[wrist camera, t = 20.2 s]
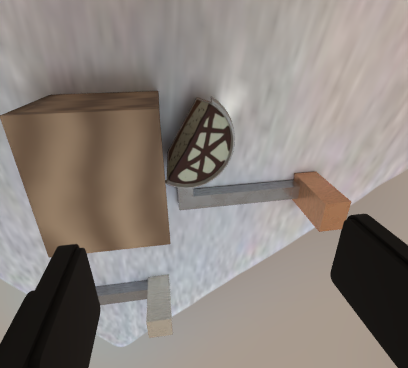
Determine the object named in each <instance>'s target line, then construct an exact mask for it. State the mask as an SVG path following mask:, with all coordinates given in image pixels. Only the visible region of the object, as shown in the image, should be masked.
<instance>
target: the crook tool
mask: <svg viewBox="0 0 408 368" xmlns="http://www.w3.org/2000/svg"><path fill="white" fill-rule="evenodd" d="M177 189H178V203H179V210H187V209H197V208H207V207H217V206H227V205H237V204H247V203H257V202H267V201H277V200H287V199H292V200H293V201H294V202H295V203H296V204H297V206H298V207H299V208H300V209H301V211H302V212H303V213H304V214H305V215H306V217H307V218H308V219H309V220H310V221H311V223H312V224H313V225H314V226H315V227H316V229H317V230H318V231H319V232H321V231H329V230H337V229H342V227H343V223H344V221H345V220H346V218H347V214H348V211H349V208H350V204H351V201H350V200H349V199H348V198H346V197H345V196H344V195H343V194H342V193H341V192H339V191H338V190H337V189H336V188H335V187H334V186H332V185H331V184H330V183H329V182H328V181H326V180H325V179H324V178H323V177H322V176H321V175H319V174H318V173H317V172H306V173H295V176H294V180H288V181H277V182H266V183H255V184H244V185H233V186H222V187H211V188H200V189H193V188H178V187H177Z"/></svg>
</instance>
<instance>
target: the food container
mask: <svg viewBox="0 0 408 368" xmlns="http://www.w3.org/2000/svg"><path fill="white" fill-rule="evenodd" d="M234 145H235V135H234V128H233V124H232V121H231V118H230V116H229V114H228V112H227V111H226V110H225V108H224V107H223V106H222V105H221V104H220V103H219V102H218V101H217V100H216V99H214V98H213V97H212V96H211V102H209V101H206V100H203V99H200V98H196V99H195V101H194V103H193V105H192V107H191V109H190V111H189V112H188V114H187V116H186V118H185V120H184V122H183V124H182V126H181V127H180V129H179V131H178V133H177V135H176V137H175V139H174V141H173V142H172V144H171V146H170V148H169V150H168V154H167V180H165V183H166V184H167V185H170V186H173V187H178V188H194V187H198V186H201V185H204V184H207V183H208V182H210V181H212V180H213V179H215V178H216V177H217V176H219V175H220V173H221V172H222V171H223V170H224V169H225V168H226V166H227V165H228V163H229V161H230V159H231V157H232V154H233V150H234Z"/></svg>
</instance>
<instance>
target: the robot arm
mask: <svg viewBox="0 0 408 368" xmlns="http://www.w3.org/2000/svg"><path fill="white" fill-rule="evenodd" d="M331 279H332V282H333V283H334V284H335V286H336V287H337V288H338V290H339V291H340V292H341V294H342V295H343V296H344V297H345V299H346V300H347V302H348V303H349V304H350V306H351V307H352V308H353V309H354V311H355V312H356V313H357V315H358V316H359V317H360V319H361V320H362V321H363V323H364V324H365V325H366V327H367V328H368V329H369V331H370V332H371V333H372V335H373V336H374V337H375V339H376V340H377V341H378V342H379V344H380V345H381V346H382V348H383V349H384V350H385V352H386V353H387V354H388V356H389V357H390V358H391V360H392V361H393V362H394V363H395V365H396V366H397V367H398V368H408V245H407V244H405V243H404V242H403V241H401V240H400V239H399V238H397V237H396V236H395V235H394V234H392V233H391V232H390V231H389V230H387V229H386V228H385V227H383V226H382V225H381V224H380V223H378V222H377V221H375V220H374V219H373V218H372V217H371V216H369V215H368V214H357V215H351V216H349V217H348V218H347V220H345V221H344V223H343V227H342V231H341V235H340V238H339V243H338V246H337V250H336V254H335V258H334V261H333V265H332V269H331ZM99 316H100V302H99V299H98V295H97V291H96V287H95V283H94V280H93V276H92V272H91V268H90V265H89V261H88V257H87V253H86V250H85V248H80V247H79V245H78V244H70V245H61V246H58V247H57V248H56V250H55V252H54V254H53V256H52V258H51V260H50V262H49V264H48V266H47V268H46V270H45V272H44V274H43V276H42V278H41V280H40V282H39V284H38V286H37V287H36V289H35V291H31V292H29V293H28V294H27V296H26V297H25V299H24V300H23V302H22V304H21V306H20V308H19V310H18V312H17V313H16V315H15V317H14V319H13V321H12V323H11V325H10V327H9V328H8V330H7V332H6V334H5V336H4V338H3V340H2V342H1V343H0V368H88V367H89V363H90V358H91V353H92V349H93V344H94V339H95V335H96V330H97V326H98V321H99Z"/></svg>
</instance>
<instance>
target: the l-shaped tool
mask: <svg viewBox="0 0 408 368" xmlns="http://www.w3.org/2000/svg"><path fill="white" fill-rule="evenodd" d="M96 291H97V295H98V299H99V302H100V305H105V304H113V303H120V302H127V301H135V300H142V299H147V321H146V323H147V329H148V335H149V338H153V337H159V336H166V335H172V315H171V297H170V283H169V275H161V276H153V277H148V280H145V281H137V282H129V283H121V284H113V285H105V286H97V287H96Z"/></svg>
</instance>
